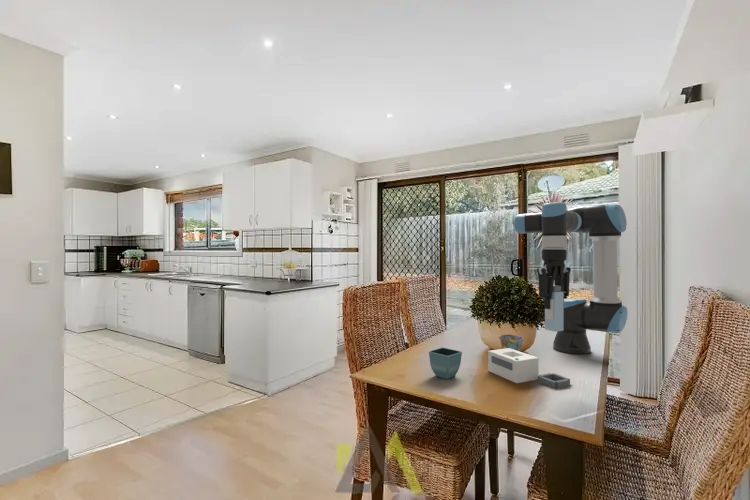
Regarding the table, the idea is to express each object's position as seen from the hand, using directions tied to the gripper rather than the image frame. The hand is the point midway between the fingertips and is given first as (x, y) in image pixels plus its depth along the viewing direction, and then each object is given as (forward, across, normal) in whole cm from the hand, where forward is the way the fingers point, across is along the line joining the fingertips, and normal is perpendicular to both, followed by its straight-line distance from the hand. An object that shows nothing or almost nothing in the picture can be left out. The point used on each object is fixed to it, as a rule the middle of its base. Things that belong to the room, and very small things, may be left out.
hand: (554, 317), depth 124 cm
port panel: (+23, +7, -12) cm, 26 cm away
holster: (+23, 0, 0) cm, 23 cm away
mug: (+23, -4, -25) cm, 34 cm away
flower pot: (+23, +29, -22) cm, 43 cm away
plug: (+4, 0, 0) cm, 4 cm away
